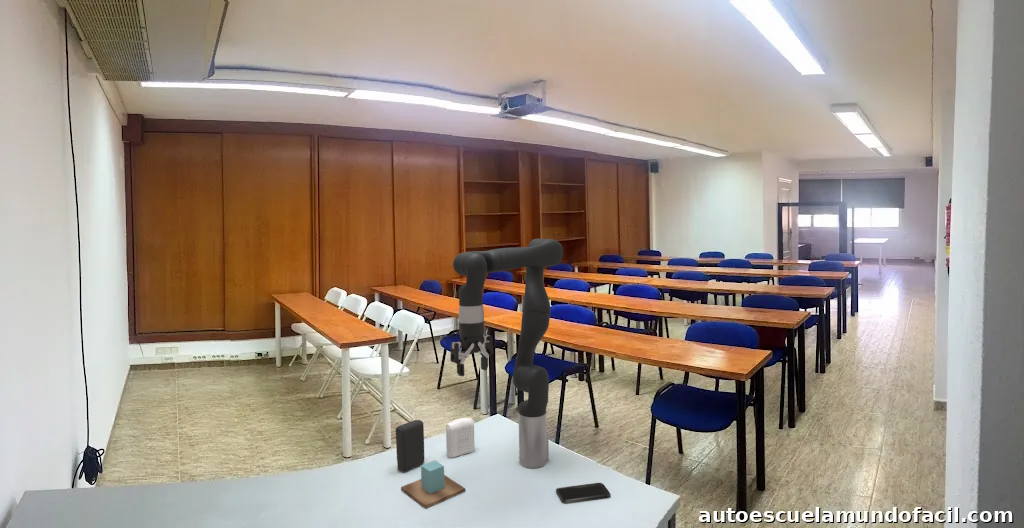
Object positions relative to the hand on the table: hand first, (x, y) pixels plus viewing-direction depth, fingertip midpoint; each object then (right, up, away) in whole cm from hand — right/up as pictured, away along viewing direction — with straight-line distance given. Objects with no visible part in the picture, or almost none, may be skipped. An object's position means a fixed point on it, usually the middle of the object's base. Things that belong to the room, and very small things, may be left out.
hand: (472, 372), depth 162 cm
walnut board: (-12, -36, +2) cm, 38 cm away
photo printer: (-6, -34, +27) cm, 44 cm away
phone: (+33, -36, -1) cm, 49 cm away
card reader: (-22, -35, +18) cm, 45 cm away
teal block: (-12, -35, +2) cm, 37 cm away
